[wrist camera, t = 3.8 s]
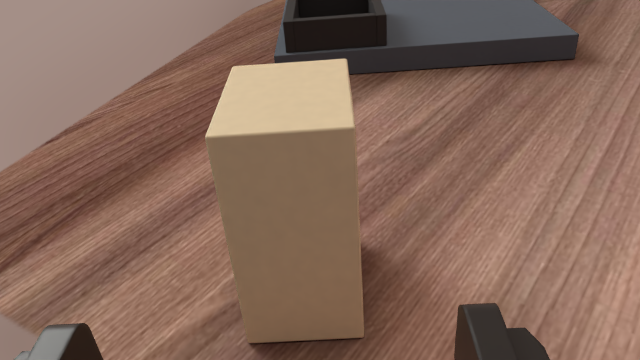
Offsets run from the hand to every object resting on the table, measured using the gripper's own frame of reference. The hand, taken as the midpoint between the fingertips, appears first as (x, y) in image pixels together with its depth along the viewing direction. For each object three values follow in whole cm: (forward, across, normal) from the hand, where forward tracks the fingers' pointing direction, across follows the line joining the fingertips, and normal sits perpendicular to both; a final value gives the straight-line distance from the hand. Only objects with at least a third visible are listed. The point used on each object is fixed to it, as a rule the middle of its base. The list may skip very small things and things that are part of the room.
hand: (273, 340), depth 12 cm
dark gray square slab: (+45, -9, +7) cm, 46 cm away
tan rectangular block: (+9, 0, +7) cm, 11 cm away
